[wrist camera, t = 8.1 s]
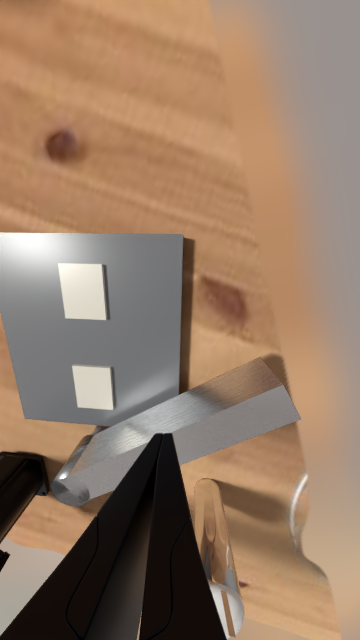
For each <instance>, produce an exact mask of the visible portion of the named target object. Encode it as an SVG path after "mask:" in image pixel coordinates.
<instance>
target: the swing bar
mask: <svg viewBox="0 0 360 640" xmlns="http://www.w3.org/2000/svg"><path fill="white" fill-rule="evenodd" d="M300 419H301V418H300V416H299V414H298V412H297V410H296V408H295V406H294V404H293V402H292V400H291V398H290V396H289V395H288V393H287V391H286V389H285V387H284V385H283V384H282V383H281V381H280V380H279V379H278V378H277V377H276V376H275V374H274V373H273V372H272V371H271V370H270V368H269V367H268V366H267V365H266V364H265V363H264V361H263V360H262V359H261V358H260V357H259V358H257V359H254V360H252V361H250V362H248V363H246V364H244V365H242V366H240V367H237V368H235V369H233V370H231V371H229V372H227V373H225V374H223V375H220V376H218V377H216V378H214V379H212V380H210V381H208V382H205V383H203V384H201V385H199V386H197V387H195V388H193V389H191V390H188V391H186V392H184V393H182V394H180V395H178V396H176V397H174V398H171V399H169V400H167V401H165V402H163V403H161V404H159V405H156V406H154V407H152V408H150V409H148V410H146V411H144V412H142V413H139V414H137V415H135V416H133V417H131V418H129V419H127V420H124V421H122V422H120V423H118V424H116V425H114V426H112V427H110V428H107V429H105V430H103V431H101V432H99V433H97V434H95V435H87V436H85V437H83V438H82V440H81V441H80V442H79V444H78V445H77V447H76V448H75V450H74V451H73V452H72V454H71V455H70V457H69V458H68V460H67V461H66V463H65V464H64V465H63V467H62V468H61V470H60V471H59V473H58V474H57V475H56V477H55V478H54V480H53V481H52V483H51V491H52V494H53V495H54V496H55V498H56V499H58V500H59V501H60V502H62V503H64V504H66V505H69V506H82V505H84V504H86V503H87V502H88V501H89V500H90V499H92V498H95V497H98V496H100V495H103V494H106V493H108V492H111V491H113V490H115V488H116V487H117V486H118V484H119V483H120V481H121V480H122V479H123V477H124V476H125V474H126V473H127V472H128V470H129V469H130V468H131V466H132V465H133V463H134V462H135V461H136V459H137V458H138V456H139V455H140V454H141V452H142V451H143V449H144V448H145V447H146V445H147V444H148V442H149V441H150V440H151V438H152V437H153V435H154V434H155V433H163V434H164V433H172V434H173V438H174V443H175V447H176V452H177V456H178V461H179V465H182V464H185V463H187V462H190V461H192V460H195V459H198V458H200V457H203V456H206V455H208V454H211V453H213V452H216V451H219V450H221V449H224V448H227V447H229V446H232V445H235V444H237V443H240V442H242V441H245V440H248V439H250V438H253V437H256V436H258V435H261V434H264V433H266V432H269V431H271V430H274V429H277V428H279V427H282V426H285V425H287V424H290V423H292V422H295V421H298V420H300Z"/></svg>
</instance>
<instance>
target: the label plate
mask: <svg viewBox="0 0 360 640" xmlns="http://www.w3.org/2000/svg"><path fill="white" fill-rule="evenodd" d="M183 246H184V236H183V234H89V233H0V313H1V317H2V321H3V326H4V330H5V334H6V339H7V343H8V347H9V352H10V356H11V360H12V365H13V369H14V374H15V378H16V382H17V387H18V391H19V395H20V400H21V404H22V408H23V413H24V417H25V419H32V420H44V421H55V422H67V423H78V424H89V425H98V426H97V427H96V428H95V430H94V431H93V433H92V434H91V435H95V434H97V433H99V432H101V431H103V430H105V429H107V428H110V427H111V426H114V425H116V424H118V423H120V422H122V421H124V420H127V419H129V418H131V417H133V416H135V415H137V414H139V413H142V412H144V411H146V410H148V409H150V408H152V407H154V406H156V405H159V404H161V403H163V402H165V401H167V400H169V399H171V398H174V397H176V396H178V395H179V385H180V351H181V316H182V281H183Z"/></svg>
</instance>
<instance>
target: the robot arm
mask: <svg viewBox="0 0 360 640" xmlns="http://www.w3.org/2000/svg"><path fill="white" fill-rule="evenodd" d="M49 491H50V490H49V485H48V481H47V476H46V471H45V467H44V462H43V459H42V458H41V457H38V456H29V455H19V454H9V453H0V543H1V542H2V540H3V539H4V538H5V536H6V535H7V534H8V532H9V531H10V530H11V528H12V527H13V525H14V524H15V523H16V521H17V520H18V519H19V517H20V516H21V514H22V513H23V512H24V510H25V509H26V508H27V506H28V505H29V503H30V502H31V501H32V499H33V498H34V497H35V495H39V496H47V494H48V493H49ZM9 556H10V554H8V553H7V552H3V551H2V550H0V571H1V570H2V568H3V566H4V565H5V563H6V561H7V559H8V558H9ZM141 611H142V616H141ZM140 617H141V627H140V636H139V640H227V638H226V635H225V632H224V629H223V626H222V623H221V620H220V617H219V614H218V610H217V607H216V604H215V601H214V598H213V595H212V592H211V589H210V586H209V583H208V579H207V576H206V573H205V569H204V566H203V563H202V559H201V556H200V552H199V548H198V544H197V540H196V536H195V532H194V528H193V523H192V519H191V515H190V510H189V506H188V501H187V497H186V492H185V488H184V483H183V479H182V474H181V470H180V465H179V461H178V456H177V452H176V447H175V443H174V438H173V434H172V433H164V434H163V433H155V434H154V435H153V437H152V438H151V440H150V441H149V442H148V444H147V445H146V447H145V448H144V449H143V451H142V452H141V454H140V455H139V456H138V458H137V459H136V461H135V462H134V463H133V465H132V466H131V468H130V469H129V470H128V472H127V473H126V474H125V476H124V477H123V479H122V480H121V481H120V483H119V484H118V486H117V487H116V488H115V490H114V491H113V493H112V494H111V495H110V497H109V498H108V500H107V501H106V502H105V504H104V505H103V507H102V508H101V509H100V511H99V512H98V514H97V516H95V518H94V519H93V520H92V522H91V523H90V524H89V526H88V527H87V529H86V530H85V531H84V533H83V534H82V535H81V537H80V538H79V539H78V541H77V542H76V543H75V545H74V546H73V547H72V549H71V550H70V551H69V552H68V554H67V555H66V556H65V558H64V559H63V560H62V561H61V563H60V564H59V565H58V566H57V568H56V569H55V570H54V571H53V573H52V574H51V575H50V576H49V577H48V579H47V580H46V581H45V582H44V583H43V585H42V586H41V587H40V588H39V590H38V591H37V592H36V593H35V594H34V596H33V597H32V598H31V599H30V601H29V602H28V603H27V604H26V605H25V607H24V608H23V609H22V610H21V611H20V613H19V614H18V615H17V616H16V618H15V619H14V620H13V621H12V623H11V624H10V625H9V626H8V627H7V628H6V630H5V631H4V632H3V633H2V635H1V636H0V640H136V639H137V634H138V628H139V623H140Z"/></svg>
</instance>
